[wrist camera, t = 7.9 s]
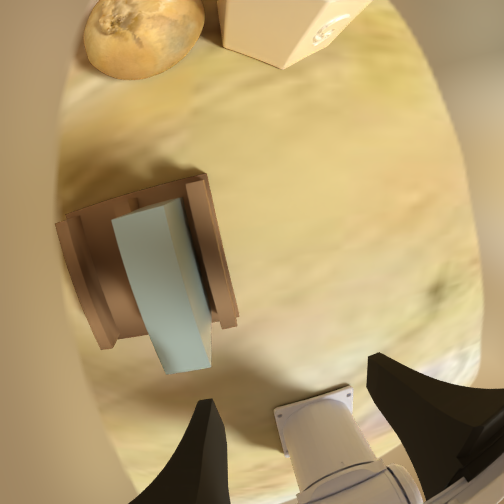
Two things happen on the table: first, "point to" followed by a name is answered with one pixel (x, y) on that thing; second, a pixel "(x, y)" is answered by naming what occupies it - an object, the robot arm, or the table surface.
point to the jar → (284, 27)
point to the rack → (112, 267)
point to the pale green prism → (167, 283)
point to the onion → (141, 35)
